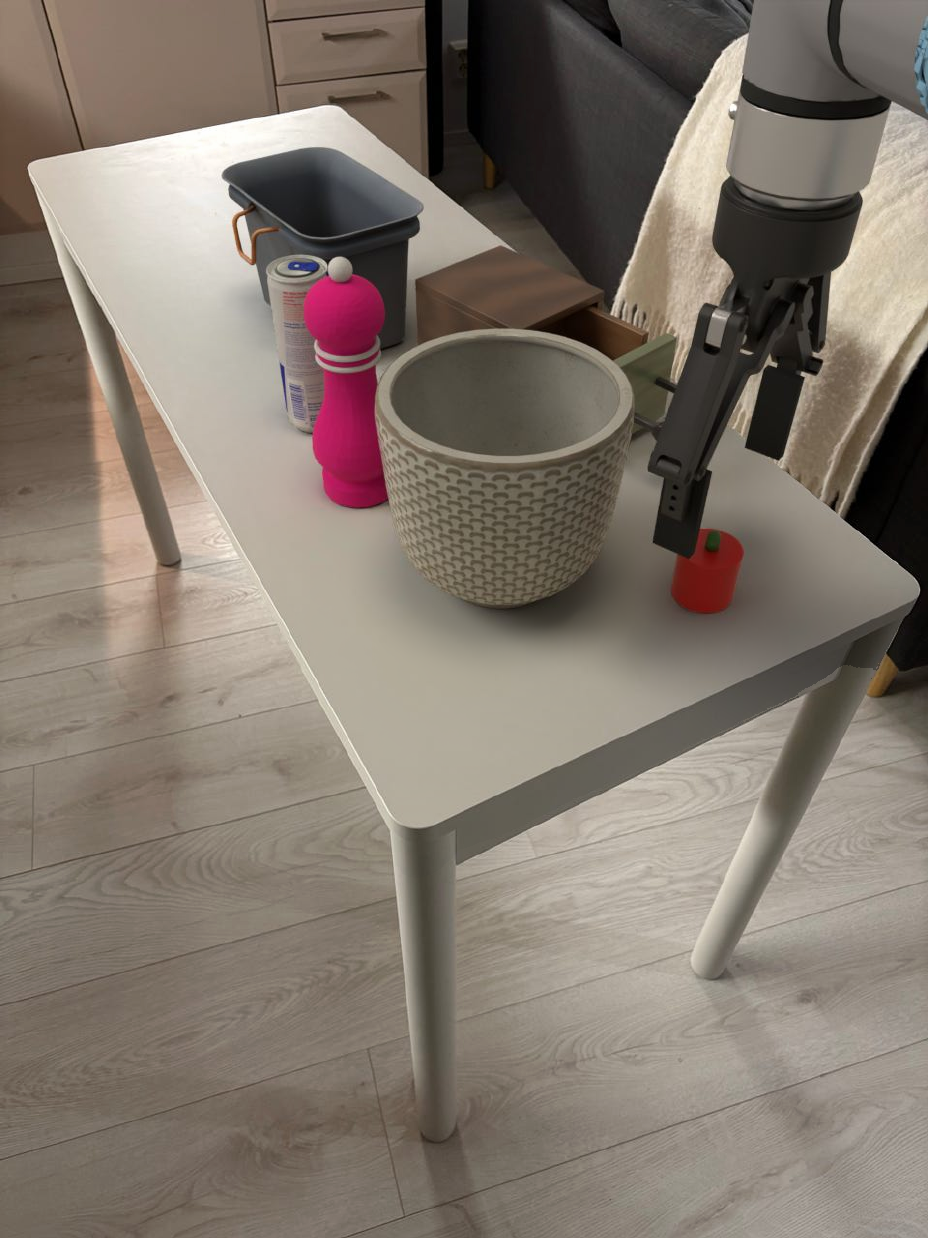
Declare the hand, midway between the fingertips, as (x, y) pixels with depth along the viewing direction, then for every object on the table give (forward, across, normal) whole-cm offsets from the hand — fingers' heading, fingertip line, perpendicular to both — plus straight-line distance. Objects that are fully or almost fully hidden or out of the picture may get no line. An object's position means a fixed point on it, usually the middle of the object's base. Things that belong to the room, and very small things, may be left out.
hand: (721, 497), depth 67 cm
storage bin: (+9, -13, -51) cm, 54 cm away
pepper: (+9, 0, 0) cm, 9 cm away
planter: (+9, +8, -13) cm, 18 cm away
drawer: (+8, -14, -17) cm, 24 cm away
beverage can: (+9, +1, -39) cm, 40 cm away
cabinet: (+9, -16, -30) cm, 35 cm away
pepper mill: (+9, +6, -29) cm, 31 cm away
